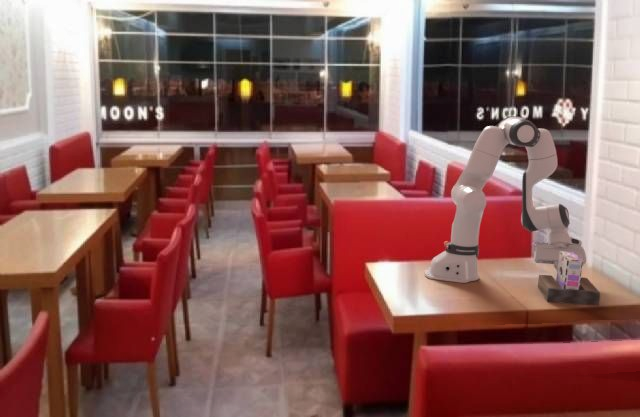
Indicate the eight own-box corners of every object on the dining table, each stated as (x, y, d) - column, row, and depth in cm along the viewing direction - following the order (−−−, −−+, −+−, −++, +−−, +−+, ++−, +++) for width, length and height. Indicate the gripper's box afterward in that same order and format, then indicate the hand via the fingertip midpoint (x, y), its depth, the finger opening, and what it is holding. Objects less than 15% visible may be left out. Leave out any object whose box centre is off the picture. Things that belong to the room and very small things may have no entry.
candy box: (578, 302, 255) (583, 260, 252) (562, 301, 256) (567, 259, 253) (569, 291, 269) (574, 251, 266) (554, 290, 269) (558, 250, 266)
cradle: (547, 301, 255) (548, 288, 254) (537, 286, 273) (538, 274, 272) (598, 305, 253) (600, 292, 252) (585, 289, 271) (586, 278, 270)
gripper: (534, 237, 281) (536, 267, 273) (585, 241, 278) (589, 270, 271) (531, 245, 286) (533, 274, 278) (581, 249, 283) (584, 278, 276)
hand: (561, 272), depth 274 cm, fingers closed
